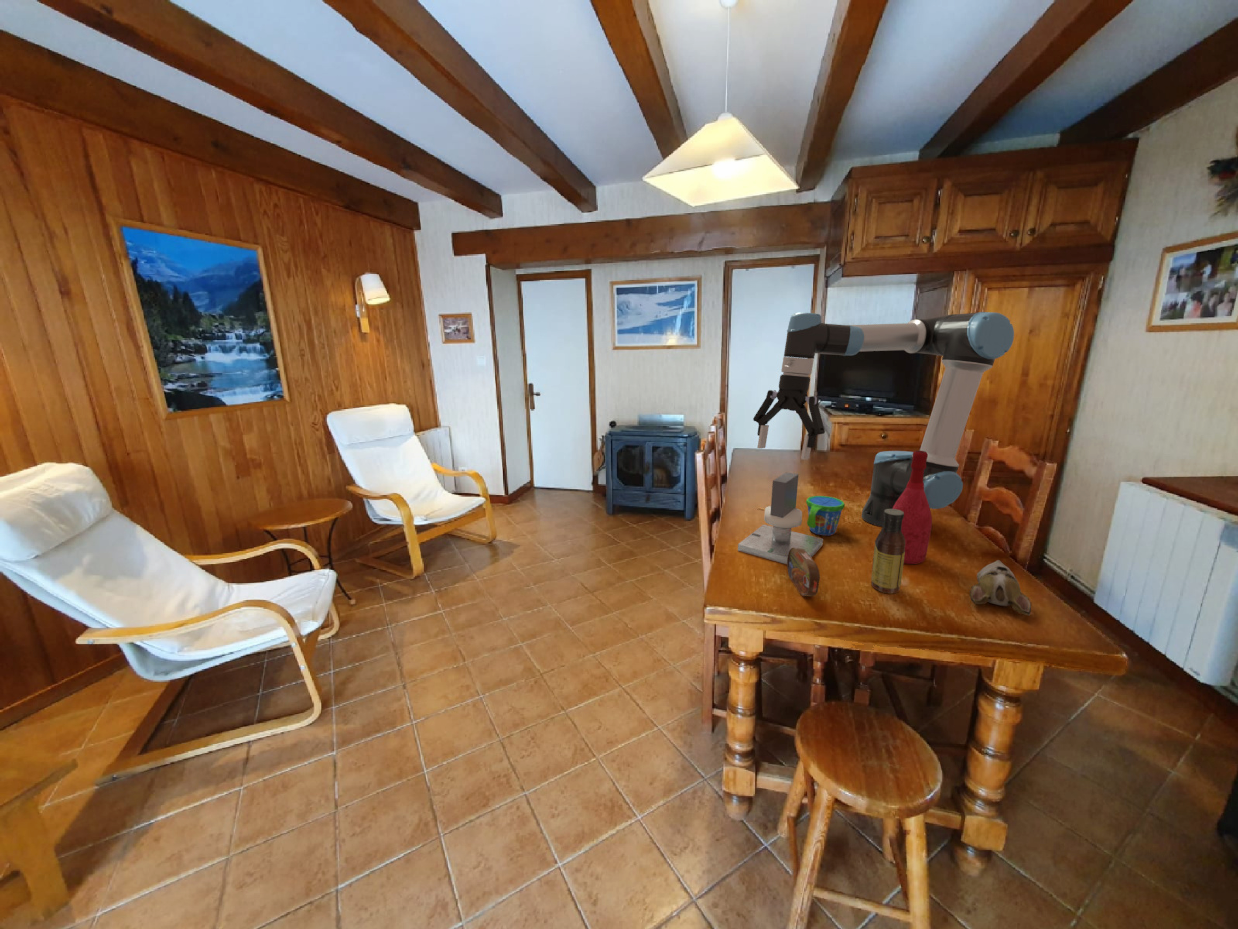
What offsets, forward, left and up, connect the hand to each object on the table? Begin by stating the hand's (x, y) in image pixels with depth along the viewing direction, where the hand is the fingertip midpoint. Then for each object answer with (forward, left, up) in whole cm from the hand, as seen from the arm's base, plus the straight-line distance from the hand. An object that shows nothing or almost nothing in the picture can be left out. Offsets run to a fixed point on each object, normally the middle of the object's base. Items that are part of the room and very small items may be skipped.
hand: (782, 453), depth 127 cm
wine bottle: (-30, -15, -28) cm, 44 cm away
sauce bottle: (-29, +6, -28) cm, 41 cm away
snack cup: (-7, -20, -28) cm, 35 cm away
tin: (-13, +17, -28) cm, 36 cm away
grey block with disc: (0, -1, -20) cm, 20 cm away
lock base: (-1, -1, -28) cm, 28 cm away
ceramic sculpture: (-50, -3, -29) cm, 58 cm away
